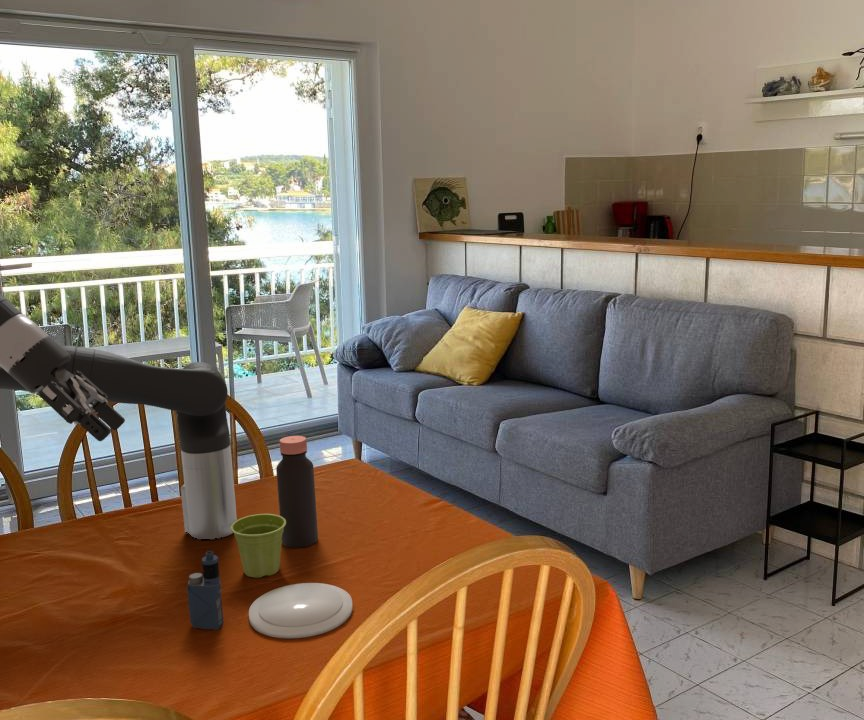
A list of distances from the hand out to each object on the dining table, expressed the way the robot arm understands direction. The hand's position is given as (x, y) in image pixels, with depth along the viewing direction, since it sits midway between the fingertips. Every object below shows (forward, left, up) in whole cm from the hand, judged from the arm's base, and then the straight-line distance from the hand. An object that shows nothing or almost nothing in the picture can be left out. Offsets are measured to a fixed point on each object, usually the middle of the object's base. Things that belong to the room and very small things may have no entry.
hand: (113, 431), depth 125 cm
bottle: (+5, +37, -31) cm, 49 cm away
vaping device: (+10, +5, -31) cm, 33 cm away
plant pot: (+6, +24, -31) cm, 40 cm away
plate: (+21, +14, -31) cm, 40 cm away
